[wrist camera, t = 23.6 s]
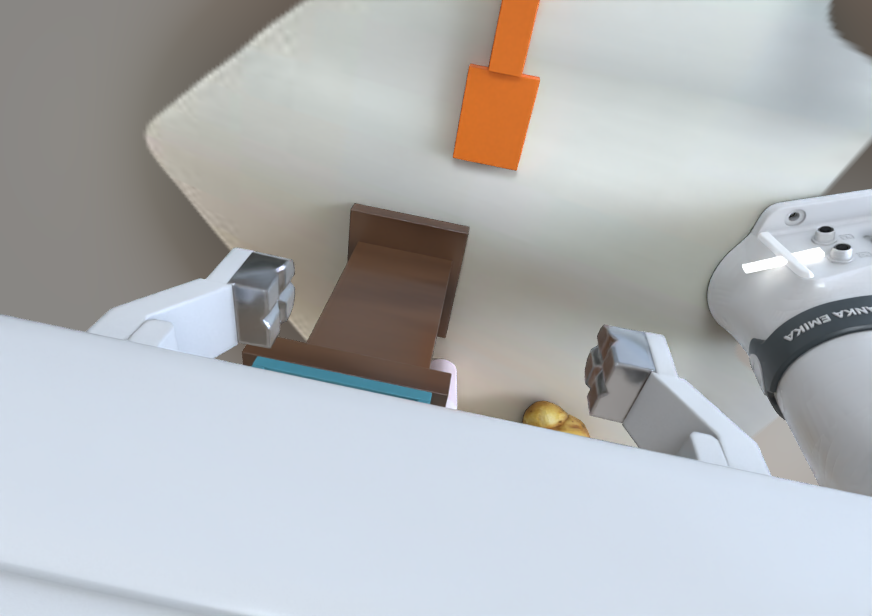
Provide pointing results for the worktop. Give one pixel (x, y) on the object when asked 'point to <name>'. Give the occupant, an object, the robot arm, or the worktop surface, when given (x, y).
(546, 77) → the worktop surface
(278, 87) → the worktop surface
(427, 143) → the worktop surface
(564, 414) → the bread roll
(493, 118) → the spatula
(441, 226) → the stand
